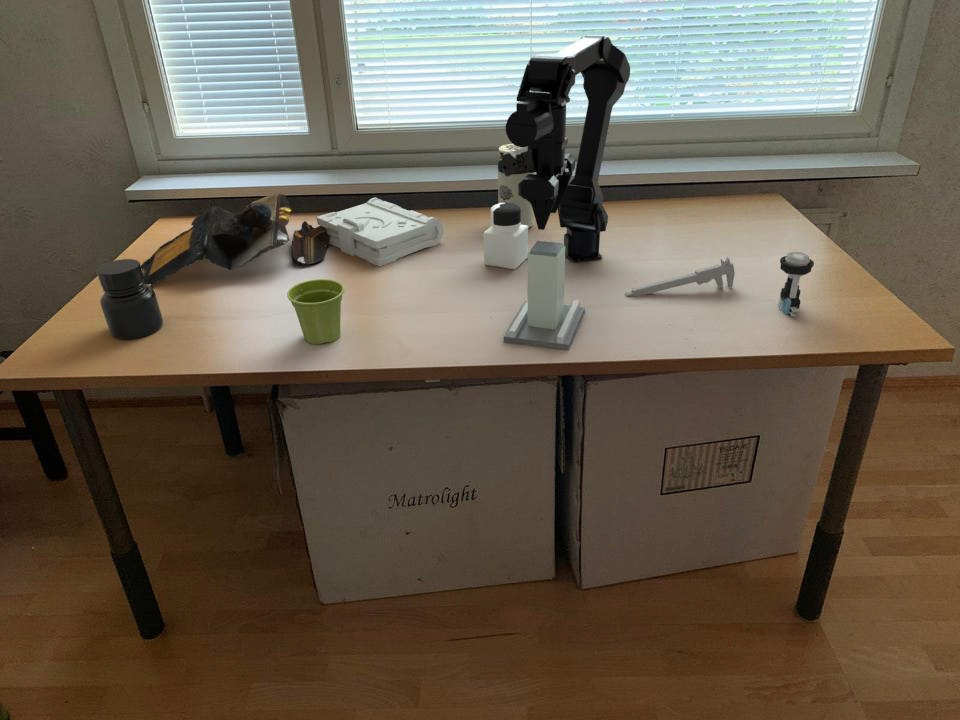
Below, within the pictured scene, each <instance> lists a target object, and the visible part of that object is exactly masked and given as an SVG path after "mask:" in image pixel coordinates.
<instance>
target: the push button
mask: <svg viewBox="0 0 960 720" xmlns="http://www.w3.org/2000/svg"><path fill="white" fill-rule="evenodd" d="M779 263H780V266H779V267H780V270H781V271H783V272H784V273H785V274H786V275H787V278H786V282H784V286H783V287H781V290H780V294H779V297H780V298H779V299H778V304H777V308H778V309H782V311H783V313H784V314H785V315H790V316H791V317H797V312H798V310H799V309H800V306H801V299H800V296H801V289H800V285H799V283H800V279H801V277H802V276H806V275H808V274H809V273H811V271H812V268H813V267H814V264H815V262H814V260H812V259H811V258H810V256H809V255H808V254H807V253H804V252H801V251H800V252H799V251H791V252H788V253H786V255H785V256H782V257H780V259H779Z"/></svg>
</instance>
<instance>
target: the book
mask: <svg viewBox="0 0 960 720" xmlns="http://www.w3.org/2000/svg"><path fill="white" fill-rule="evenodd" d="M315 218H316V222H317V225H318V226H322V227H325V229H326V231H327V233H328V236H329V238H330V240H329V243H328V245H329V246H331V245H332V246H334V247H337V248H339V249H340V251H341V252H343V253H345V254H347V253H348V254H347V255H349V254H350V256H352V257H354V256H357V257H359V258H361V259H364V260H366V261H367V262H368V263H371V264H373V265H375V266H377V267H379V266H380V267H382V265H383V266H385V265H387V263H388V264H390V263H394V262H396V261H398V259H400V258H402V257H406V256H408V255H410V254H413V253H415V252H417V251H421V250H423V249H425V248H431V247H436V246H437V245H439V244H440V243H441V241H442V238H443V235H444V227H443V224H442V222H441V220H440V219H439V218H436V217H434V216H430V217H429V216H428V215H425V214H424V213H420V212H417V211H415V210H412V209H411V210H409V209H408V210H407V209H405V208H402V207H401V206H399V205H397V204H395V203H391V202H388V201H386V200H382V199H380V198H377V197H373V198H370V199H369V200H368V201H366V202H365V203H362V204H359V205H355V206H352V207H350V208H346V209H343V210H340V211H339V210H338V211H336V212H335V211H332V212H329V213H328V212H327V213H326V214H325V213H324V214H322V215H319V216H316V217H315Z"/></svg>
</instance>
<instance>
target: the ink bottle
mask: <svg viewBox="0 0 960 720" xmlns="http://www.w3.org/2000/svg"><path fill="white" fill-rule="evenodd" d="M96 274H97V278H98V280H99V283H100V286H101V288H102V291H103V295H102V296H101V298H100V301H99V302H100V303H99V305H100V306H101V310H102V312H103V316H104V318H105V322H106V324H107V327H108V331H109V334H111V336H112V337H113V338H116V339H118V340H119V339H120V340H132V339H133V340H134V339H138V338H142V337H146V336H148V335H151V334H154V333H156V332H157V331H159V330H160V329H161V328H162V326H163V324H164V319H163V316H162V312H161V309H160V306H159V302H158V299H157V295H156V292H155V291H154V289H153V287H149V286H150V285H148V284H144V283H145V280H144V273H143V269H141V262H139V261H138V259H133V258H124V259H122V258H121V259H116V260H112V261H107V262H106V263H104V264H101V265H100V266H98V267H97V268H96Z"/></svg>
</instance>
